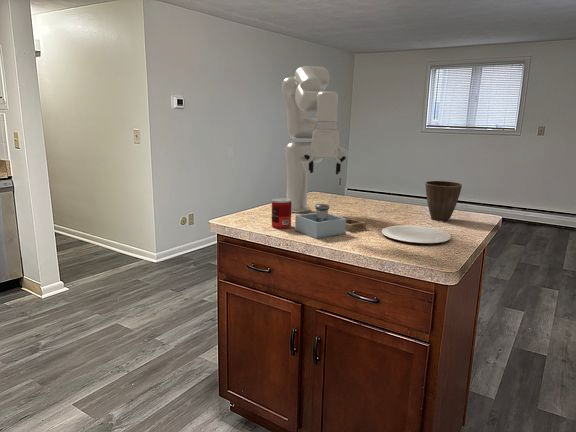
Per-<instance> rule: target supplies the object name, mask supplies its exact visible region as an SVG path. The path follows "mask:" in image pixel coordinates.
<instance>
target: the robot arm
mask: <svg viewBox="0 0 576 432" xmlns="http://www.w3.org/2000/svg"><path fill="white" fill-rule="evenodd" d="M329 83H330V73H329V71H328V69H327V68H326V67H325V66H316V65H315V66H312V65H311V66H310V65H304V66H300V67H298V68H297V69H296V70H295V72H294V76H289V77H285V79H282V83H281V94H282V100H283V102H284V104H285V108H286V118H287V119H286V121H287V134H288V136H289V138H290V139H293V140H310V141H292V142H290V143H287V145H286V146H285V150H284V151H285V159H286V198H289V199H291V213H296V214H297V213H300V214H301V213H307V212H310V210H311V207H310V206H308V180H309V179H308V176H309V175H308V171H309V173H310V174H313V173H314V164H315V163H316V164H318V163H320V162H322V161H323V159H335V161H336V164H335V174H336V175H339V173H341V166H342V165H341V164H342V162H344V161H345V160H346V159H347V157H348V156H349V153H350V152H349V150H346V149H345V148H343V147H341V146H340V136H339V134H340V133H339V130H337V125H338V121H337V120H338V109H339V108H338V105H339V104H338V103H339V95H338V93H337V92H336V91H326V90H325V89H327V87H328V86H329ZM306 113H316V117H313V118H309V117H307V116H306ZM340 152H341V153H343V156H342V157H341V158H340V156H339V155H340ZM304 164H308V171H307V169H306V167H305V166H304Z"/></svg>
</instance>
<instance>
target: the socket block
mask: <svg viewBox="0 0 576 432" xmlns="http://www.w3.org/2000/svg"><path fill="white" fill-rule="evenodd" d="M345 219H346V232H355V231H362V230H367V222H365V221H362V220H358V219H355V218H353V217H352V218H345Z"/></svg>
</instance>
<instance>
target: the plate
mask: <svg viewBox="0 0 576 432" xmlns="http://www.w3.org/2000/svg"><path fill="white" fill-rule="evenodd" d="M381 233H382V235H383V236H385V238H389V239H391V240H395V241H397V242H398V241H399V242H404V243H409V244H410V243H411V244H419V245H422V244H423V245H433V244H435V245H436V244H442V243H446V242H448V241H450V240H451V238H452V237H451V235H450V234H449V233H447V232H446V231H444V230H441V229H437V228H433V227H428V226H423V225H407V224H406V225H391V226H387V227H384V228H382V230H381Z"/></svg>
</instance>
